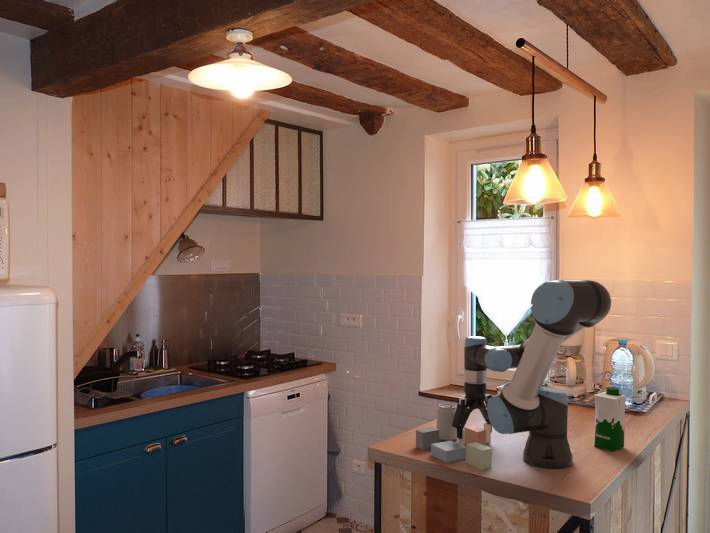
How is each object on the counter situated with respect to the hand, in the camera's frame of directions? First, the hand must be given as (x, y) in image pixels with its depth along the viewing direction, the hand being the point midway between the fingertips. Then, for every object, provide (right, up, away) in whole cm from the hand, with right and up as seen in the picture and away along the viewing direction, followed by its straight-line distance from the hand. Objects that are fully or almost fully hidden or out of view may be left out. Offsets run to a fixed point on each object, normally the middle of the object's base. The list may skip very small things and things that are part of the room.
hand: (474, 445), depth 207 cm
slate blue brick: (-11, -1, -12) cm, 16 cm away
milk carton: (+46, -1, -1) cm, 46 cm away
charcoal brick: (-16, 0, -2) cm, 17 cm away
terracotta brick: (0, 0, 0) cm, 0 cm away
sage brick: (-2, -1, -19) cm, 19 cm away
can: (-8, 0, +8) cm, 11 cm away
